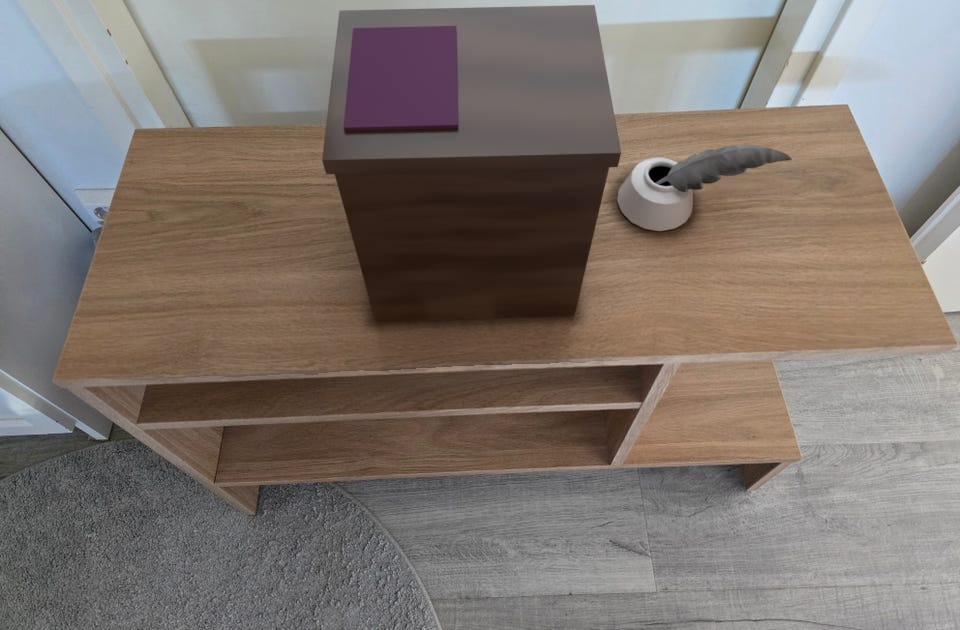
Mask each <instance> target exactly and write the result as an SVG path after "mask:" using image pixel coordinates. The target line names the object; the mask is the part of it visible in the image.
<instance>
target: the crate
mask: <svg viewBox="0 0 960 630" xmlns="http://www.w3.org/2000/svg"><path fill="white" fill-rule="evenodd" d="M595 6H596V5H595V4H582V5H581V4H575V5H573V4H572V5H570V4H569V5H530V6H529V5H528V6H526V5H525V6H491V7H490V6H486V7H481V6H480V7H445V8H444V7H441V8H440V7H439V8H433V7H432V8H394V9H393V8H392V9H389V8H388V9H351V10H339V13H338V21H337V30H336V39H335V46H334V55H333V65H332V71H331V79H330V80H331V82H330V90H329V91H330V92H329V99H328V106H327V116H326V123H325V133H324V140H323V141H324V142H323V149H322V159H321V161H322V164H323V168H324V171H325V174H326V175H334V177H335V182H336V184H337V188H338V191H339V195H340V199H341V202H342V203H341V204H342V206H343V209H344V213H345V217H346V220H347V224H348V228H349V232H350V235H351V239H352V243H353V246H354V249H355V253H356V256H357V261H358V264H359V268H360V271H361V275H362V279H363V282H364V286H365V290H366V292H367V297H368V300H369V304H370V307H371V308H370V309H371V311H372V314H373V318H374V322H376V323H378V322H379V323H381V322H382V323H385V322H418V321H453V320H454V321H455V320H456V321H457V320H489V319H491V320H492V319H526V318H527V319H529V318H559V317H562V318H563V317H564V318H565V317H575V316H576V313H577V307H578V304H579V300H580V299H579V298H580V295H581V292H582V291H581V290H582V286H583V282H584V278H585V273H586V268H587V265H588V260H589V256H590V252H591V247H592V244H593V238H594V236H595V230H596V226H597V222H598V218H599V213H600V209H601V205H602V202H603V201H602V200H603V196H604V192H605V188H606V183H607V179H608V175H609V170H610V168H618V167H619V164H620V160H621V155H622V150H621V144H620V139H619V132H618V128H617V127H618V126H617V122H616V116H615V111H614V106H613V105H614V104H613V100H612V94H611V88H610V83H609V78H608V73H607V67H606V61H605V54H604V49H603V44H602V38H601V34H600V28H599V22H598V15H597V11H596V7H595ZM423 26H456V31H457V85H458V128H454V129H412V130H370V131H344V128H343V127H344V117H345V107H346V97H347V86H348V76H349V66H350V56H351V46H352V36H353V28H378V27H423Z"/></svg>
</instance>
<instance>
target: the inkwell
mask: <svg viewBox="0 0 960 630" xmlns="http://www.w3.org/2000/svg"><path fill="white" fill-rule="evenodd" d="M792 160H793V158H792V157H791V156H790V155H788V154H787V153H785V152H783V151H779V150H777V149H774V148H771V147H768V146H760V145H753V144H744V145H728V146H722V147H718V148H716V149H706V150H704V151H702V152H700V153H698V154H692V155H690V156H689V157H687V158H686V159H684V160H683V161H681V160H680V161H678V162H677V161H675V160H672V159H670V158H666V157H652V158H646V159H644V160H642V161H640V162H639V163H637V164H636V165H635V166H634V167H633V169H632V170H631V172H630V173H629V175H628V176H627V177H626V178H625V180H624V182H623V183H622V184H621V186H620V187H619V189H618V192H617V199H616V201H617V204H618V207H619V210H620V211H621V213H622V214H623V215H624V217H625V218H627V220H628V221H629V222H630V223H631V224H634V225H636V226H637V227H640V228H642V229H644V230H649V231H655V232H663V231H670V230H675V229H676V228H678V227H680V226H682V225H683V224H685V223H687V221H688V219H689V218H690V217H691V215H692V213H693V205H694V204H693V203H694V191H697V190H700V191H701V190H702V189H703V188H704V184H707V185H709V184H715V183H717V182H718V181H720V180H721V179H722V176H723V177H733V176H739V175H741V174H744V173H746V172H747V169H756V168H759V167H762V166H765V165H766V164H773V163H778V162H787V161H788V162H789V161H792Z"/></svg>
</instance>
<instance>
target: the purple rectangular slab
mask: <svg viewBox="0 0 960 630" xmlns="http://www.w3.org/2000/svg"><path fill="white" fill-rule="evenodd" d="M343 128H344V131H370V130H412V129H454V128H458V85H457V31H456V26H423V27H378V28H353V36H352V46H351V56H350V66H349V76H348V86H347V97H346V107H345V117H344V127H343Z"/></svg>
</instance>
